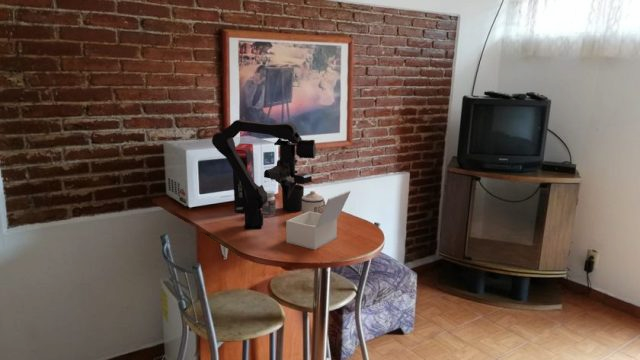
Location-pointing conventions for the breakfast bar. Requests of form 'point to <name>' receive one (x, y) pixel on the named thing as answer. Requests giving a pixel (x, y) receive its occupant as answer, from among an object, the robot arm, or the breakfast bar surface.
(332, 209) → the carton flap
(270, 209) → the pill bottle
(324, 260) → the breakfast bar surface
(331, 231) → the carton
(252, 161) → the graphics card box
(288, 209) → the pen holder
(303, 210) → the teacup with lid
